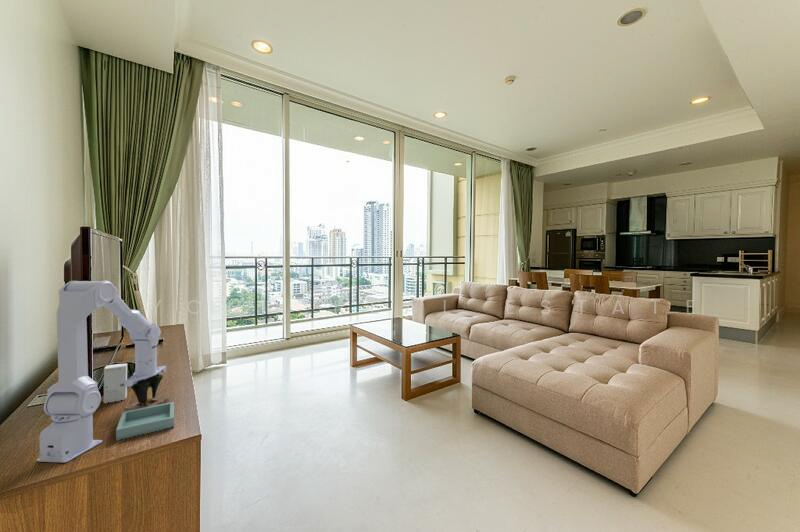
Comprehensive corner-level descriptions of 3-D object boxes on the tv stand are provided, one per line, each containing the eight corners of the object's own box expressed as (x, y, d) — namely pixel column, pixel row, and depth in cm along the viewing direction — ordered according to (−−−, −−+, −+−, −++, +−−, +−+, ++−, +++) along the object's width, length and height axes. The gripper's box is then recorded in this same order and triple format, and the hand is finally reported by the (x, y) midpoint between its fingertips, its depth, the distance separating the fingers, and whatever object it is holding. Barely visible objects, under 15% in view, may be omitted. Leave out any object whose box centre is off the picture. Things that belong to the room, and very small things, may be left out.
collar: (148, 413, 108) (148, 408, 108) (123, 412, 108) (123, 408, 108) (168, 402, 116) (168, 398, 116) (145, 401, 117) (145, 397, 117)
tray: (173, 427, 99) (173, 417, 99) (116, 440, 91) (116, 430, 91) (174, 410, 109) (174, 401, 109) (122, 421, 102) (122, 411, 102)
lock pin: (147, 409, 111) (147, 388, 110) (138, 409, 111) (138, 388, 111) (154, 405, 114) (154, 385, 113) (146, 405, 114) (146, 384, 114)
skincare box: (103, 404, 115) (102, 368, 115) (105, 399, 119) (105, 365, 118) (126, 399, 118) (125, 365, 118) (128, 395, 122) (127, 362, 122)
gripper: (152, 353, 119) (153, 391, 120) (114, 366, 105) (115, 409, 105) (171, 353, 119) (171, 391, 119) (135, 366, 104) (136, 410, 105)
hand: (146, 400), depth 112 cm, fingers closed on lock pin, 3 cm apart
